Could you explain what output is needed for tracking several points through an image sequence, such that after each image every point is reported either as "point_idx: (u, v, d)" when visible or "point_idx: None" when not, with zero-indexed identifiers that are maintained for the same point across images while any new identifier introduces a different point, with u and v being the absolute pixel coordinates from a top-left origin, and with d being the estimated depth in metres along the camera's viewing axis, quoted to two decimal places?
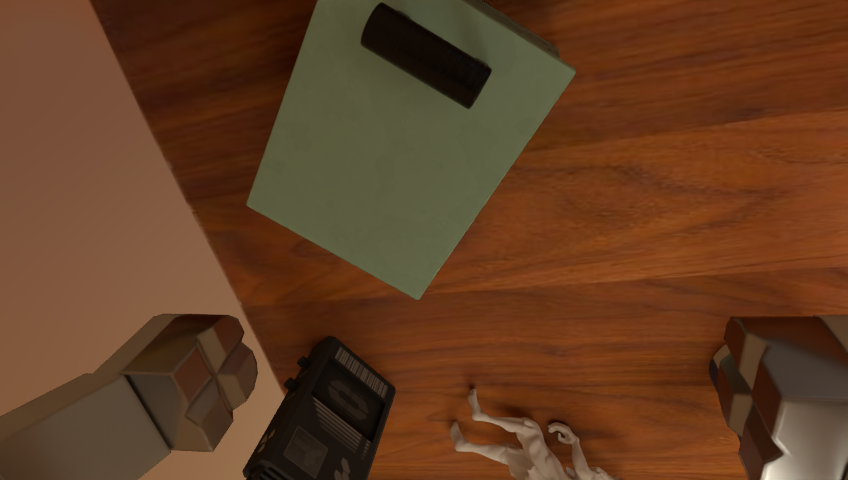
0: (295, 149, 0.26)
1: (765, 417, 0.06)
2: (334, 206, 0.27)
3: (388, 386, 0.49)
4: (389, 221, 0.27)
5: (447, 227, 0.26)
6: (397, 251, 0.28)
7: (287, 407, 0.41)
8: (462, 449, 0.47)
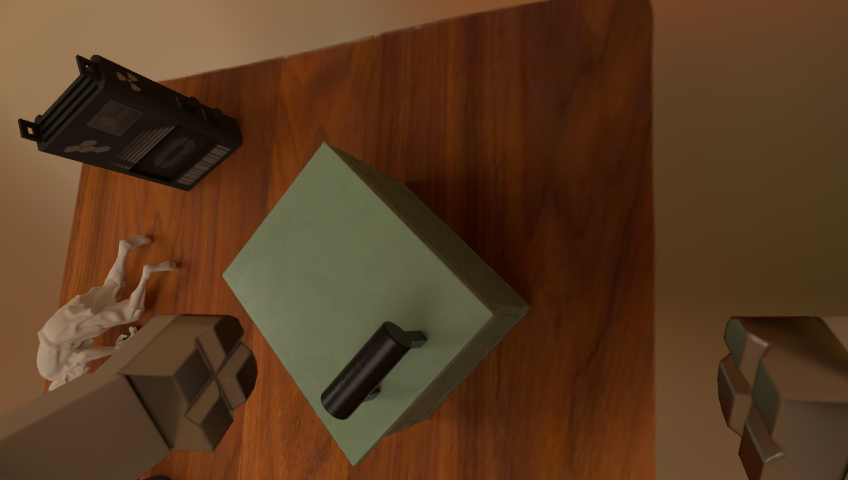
0: (354, 208, 0.29)
1: (765, 417, 0.06)
2: (306, 227, 0.30)
3: (189, 185, 0.51)
4: (284, 273, 0.31)
5: (270, 322, 0.31)
6: (261, 271, 0.32)
7: (164, 101, 0.42)
8: (120, 246, 0.50)
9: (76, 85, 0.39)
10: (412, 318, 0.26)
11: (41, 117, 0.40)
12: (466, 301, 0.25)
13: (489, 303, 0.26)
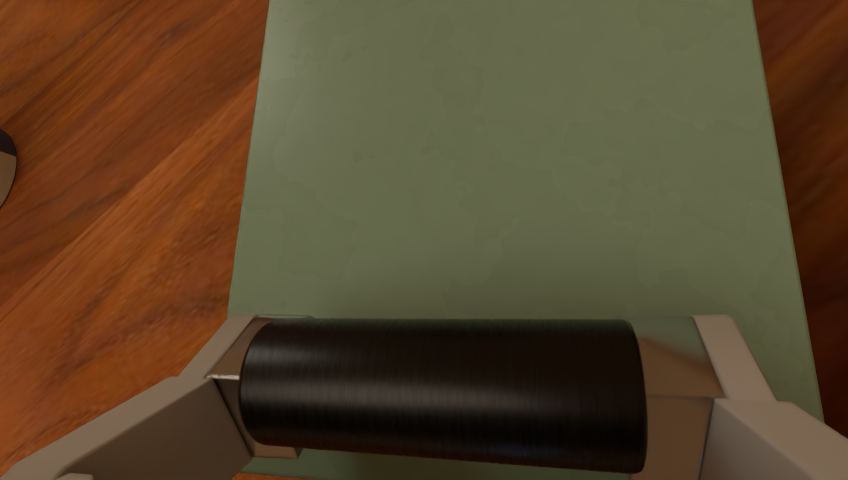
0: None
1: None
2: None
3: None
4: None
5: (292, 58, 0.13)
6: None
7: None
8: None
9: None
10: None
11: None
12: None
13: None
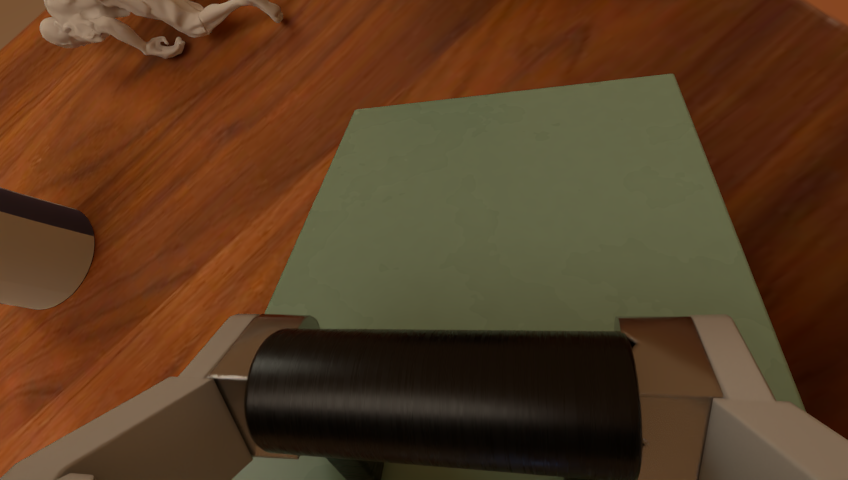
0: (648, 168, 0.14)
1: None
2: (532, 137, 0.16)
3: None
4: (435, 162, 0.16)
5: (341, 198, 0.16)
6: (407, 139, 0.17)
7: None
8: None
9: None
10: None
11: None
12: None
13: None
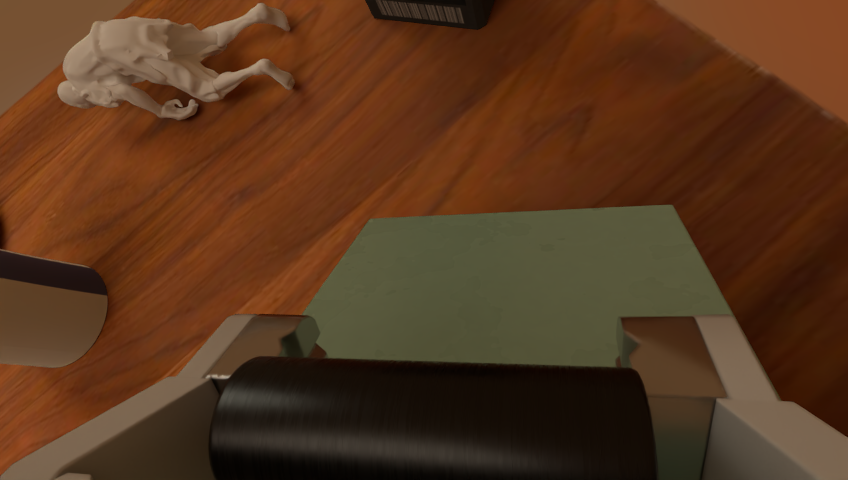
0: (653, 278, 0.14)
1: None
2: (538, 248, 0.16)
3: (382, 15, 0.36)
4: (442, 264, 0.16)
5: (346, 289, 0.16)
6: (416, 243, 0.18)
7: None
8: (255, 9, 0.36)
9: None
10: None
11: None
12: None
13: None
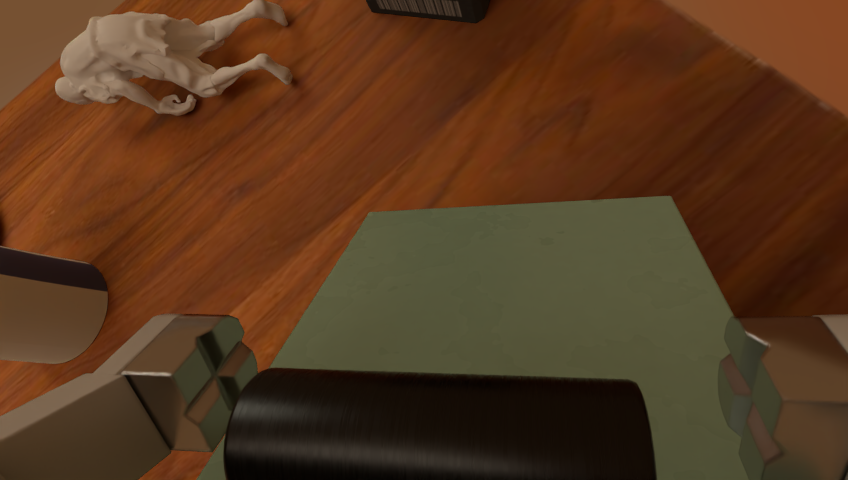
0: (651, 272, 0.14)
1: (765, 417, 0.06)
2: (538, 242, 0.16)
3: (379, 9, 0.36)
4: (442, 259, 0.16)
5: (348, 286, 0.16)
6: (417, 238, 0.18)
7: None
8: (252, 4, 0.36)
9: None
10: None
11: None
12: None
13: None
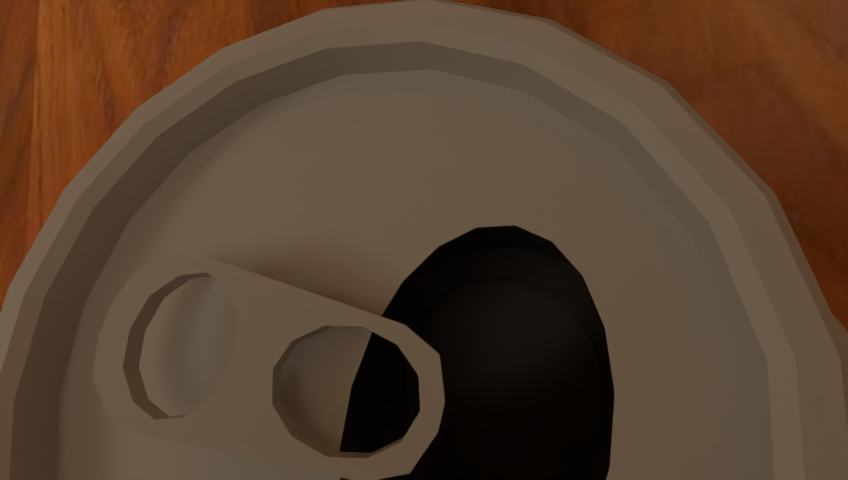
0: None
1: None
2: None
3: None
4: None
5: None
6: None
7: None
8: None
9: None
10: None
11: None
12: None
13: None
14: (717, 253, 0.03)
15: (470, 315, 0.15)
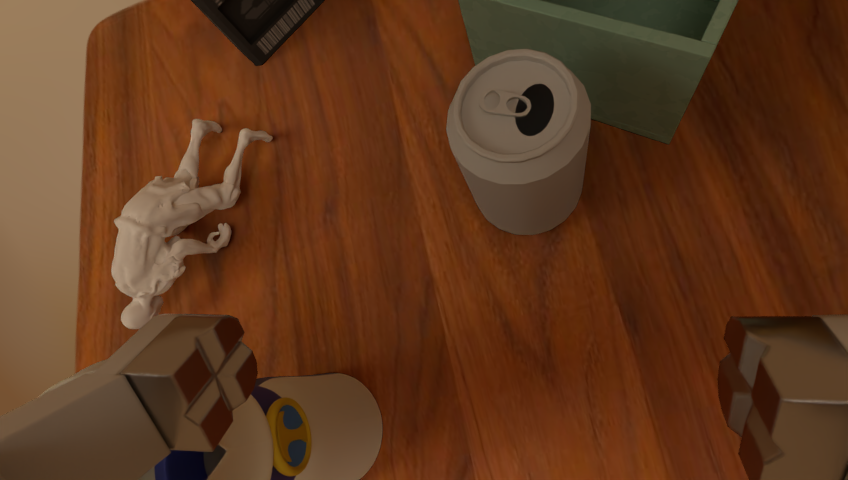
0: None
1: (765, 417, 0.06)
2: None
3: (266, 55, 0.44)
4: None
5: None
6: None
7: None
8: (194, 126, 0.41)
9: None
10: None
11: None
12: None
13: None
14: (566, 82, 0.24)
15: None
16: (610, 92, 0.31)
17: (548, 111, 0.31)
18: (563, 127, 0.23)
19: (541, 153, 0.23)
